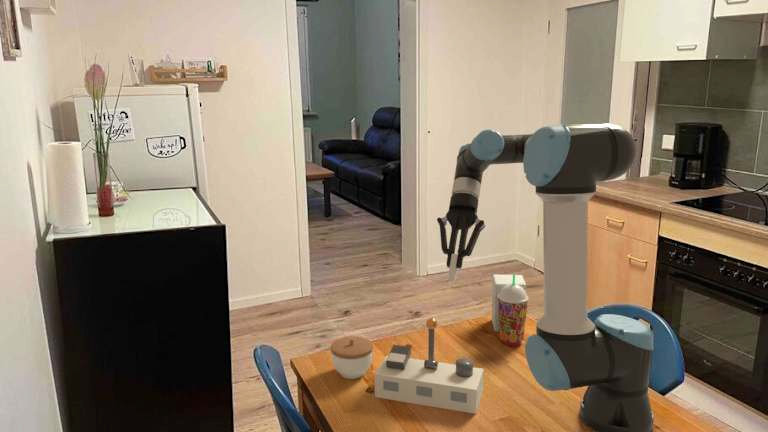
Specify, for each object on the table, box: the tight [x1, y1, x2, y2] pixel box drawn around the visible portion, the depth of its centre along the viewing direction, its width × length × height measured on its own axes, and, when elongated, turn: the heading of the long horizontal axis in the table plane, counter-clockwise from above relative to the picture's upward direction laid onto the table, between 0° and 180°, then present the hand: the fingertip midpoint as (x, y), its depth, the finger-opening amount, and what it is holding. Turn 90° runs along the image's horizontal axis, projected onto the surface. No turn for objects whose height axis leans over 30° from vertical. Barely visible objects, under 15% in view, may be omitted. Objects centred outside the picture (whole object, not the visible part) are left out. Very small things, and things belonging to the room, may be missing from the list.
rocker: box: [386, 344, 412, 370], centre depth 143 cm, size 4×6×2 cm
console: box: [374, 354, 484, 415], centre depth 140 cm, size 24×10×6 cm, turn 72°
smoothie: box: [498, 274, 529, 347], centre depth 165 cm, size 8×8×20 cm
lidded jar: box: [330, 335, 374, 380], centre depth 150 cm, size 11×11×9 cm
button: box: [455, 357, 474, 377], centre depth 138 cm, size 4×4×3 cm
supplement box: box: [491, 273, 527, 332], centre depth 176 cm, size 9×9×15 cm
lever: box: [424, 317, 439, 369], centre depth 139 cm, size 3×3×13 cm
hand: (451, 279), depth 151 cm, fingers closed
